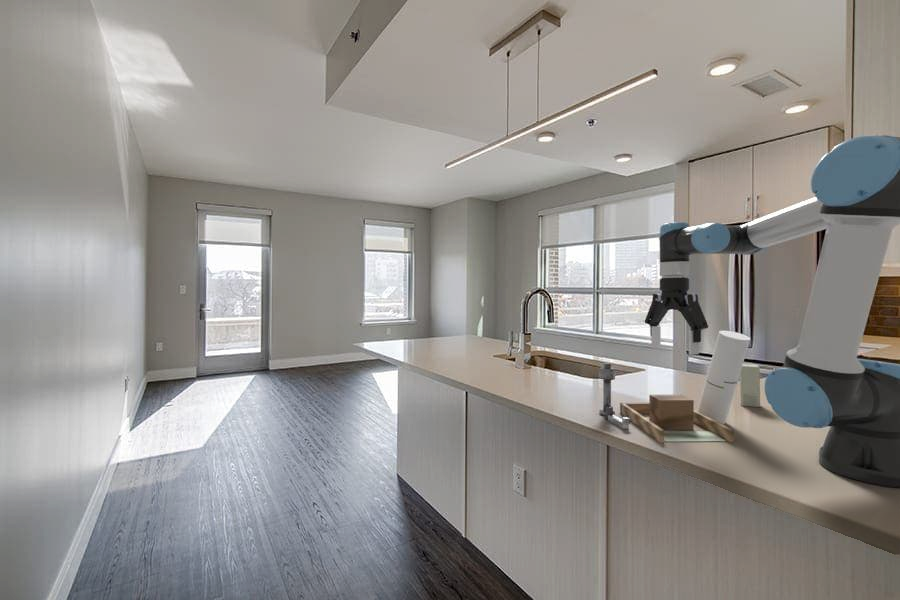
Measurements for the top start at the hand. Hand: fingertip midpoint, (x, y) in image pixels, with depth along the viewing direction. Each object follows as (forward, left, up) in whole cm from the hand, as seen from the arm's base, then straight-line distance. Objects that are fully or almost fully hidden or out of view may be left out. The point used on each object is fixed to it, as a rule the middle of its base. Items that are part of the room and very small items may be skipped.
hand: (673, 350), depth 122 cm
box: (+13, -31, -20) cm, 39 cm away
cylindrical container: (-2, -9, -19) cm, 21 cm away
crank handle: (-4, +18, -20) cm, 27 cm away
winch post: (+5, +18, -20) cm, 27 cm away
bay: (-6, +4, -20) cm, 21 cm away
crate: (-7, +4, -20) cm, 21 cm away
